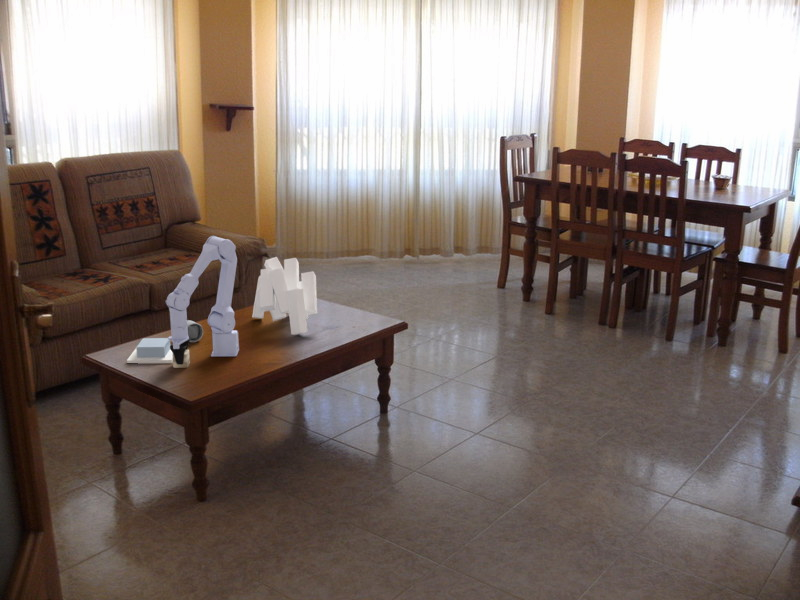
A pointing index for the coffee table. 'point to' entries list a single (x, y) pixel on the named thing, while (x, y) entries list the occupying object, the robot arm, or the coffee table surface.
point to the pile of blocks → (286, 293)
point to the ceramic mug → (194, 331)
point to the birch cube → (185, 363)
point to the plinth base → (150, 360)
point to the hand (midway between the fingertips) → (181, 361)
